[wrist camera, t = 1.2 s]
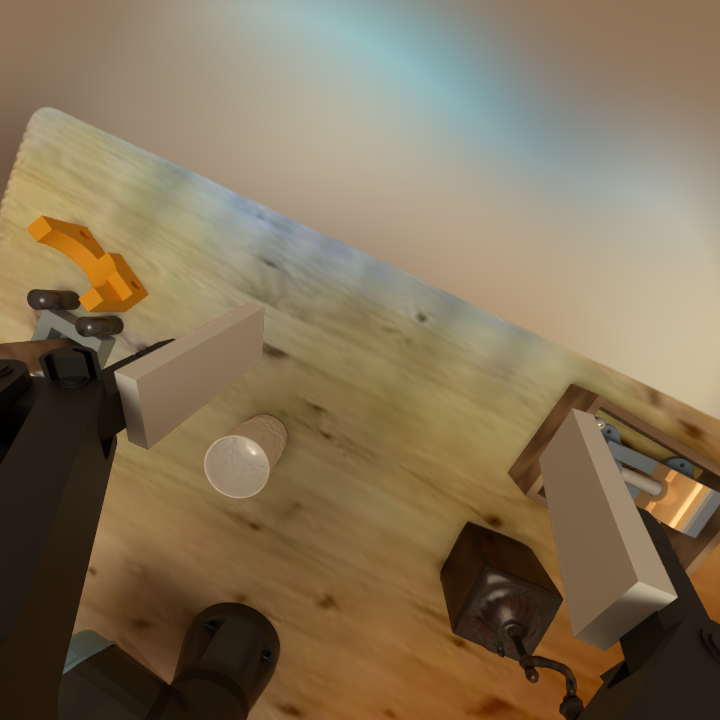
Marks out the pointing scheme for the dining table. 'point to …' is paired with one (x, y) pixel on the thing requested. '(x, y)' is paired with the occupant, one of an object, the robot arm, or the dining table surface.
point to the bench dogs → (71, 302)
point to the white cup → (245, 456)
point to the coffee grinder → (504, 602)
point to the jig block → (70, 333)
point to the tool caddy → (583, 400)
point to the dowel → (33, 350)
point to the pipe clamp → (92, 265)
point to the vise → (663, 486)
